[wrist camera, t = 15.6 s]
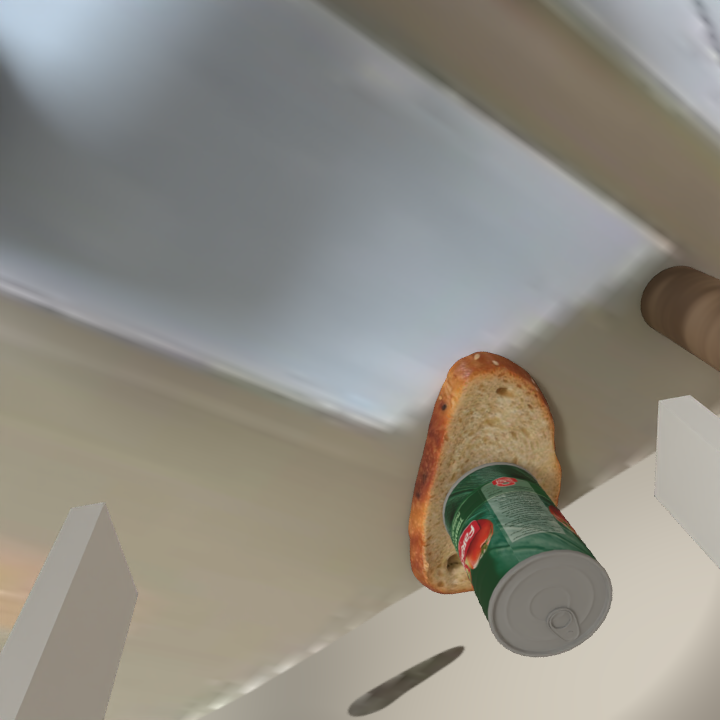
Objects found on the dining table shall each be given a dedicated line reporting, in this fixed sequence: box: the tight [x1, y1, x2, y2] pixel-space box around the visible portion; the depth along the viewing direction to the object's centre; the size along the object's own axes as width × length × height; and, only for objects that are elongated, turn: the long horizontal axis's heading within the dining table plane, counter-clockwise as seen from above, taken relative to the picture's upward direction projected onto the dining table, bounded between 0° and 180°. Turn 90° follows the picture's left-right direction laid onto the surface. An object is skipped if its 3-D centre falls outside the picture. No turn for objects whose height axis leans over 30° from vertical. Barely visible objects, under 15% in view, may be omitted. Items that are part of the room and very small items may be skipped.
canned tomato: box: [442, 462, 612, 657], centre depth 45 cm, size 8×8×11 cm
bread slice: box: [408, 352, 562, 594], centre depth 51 cm, size 18×18×4 cm
